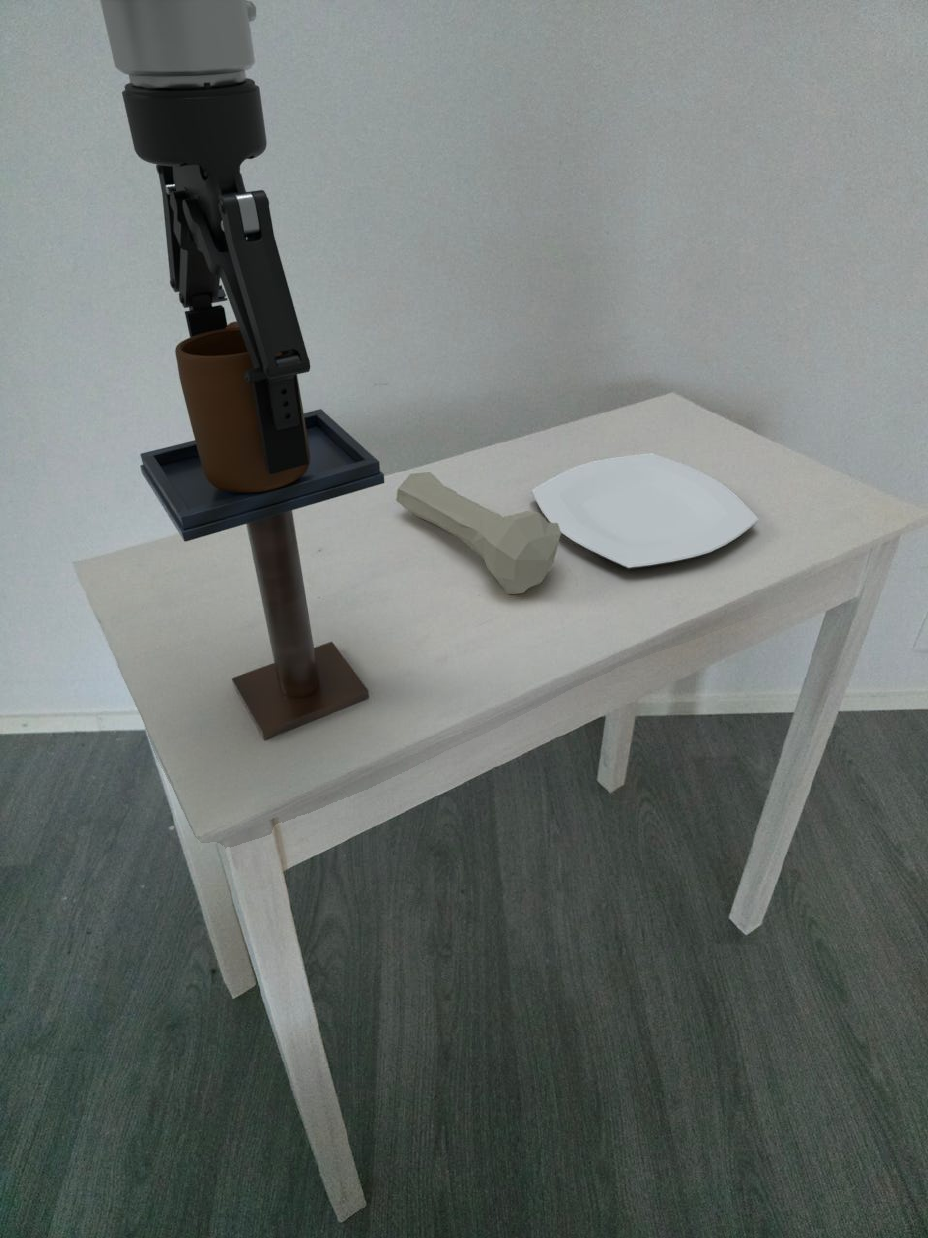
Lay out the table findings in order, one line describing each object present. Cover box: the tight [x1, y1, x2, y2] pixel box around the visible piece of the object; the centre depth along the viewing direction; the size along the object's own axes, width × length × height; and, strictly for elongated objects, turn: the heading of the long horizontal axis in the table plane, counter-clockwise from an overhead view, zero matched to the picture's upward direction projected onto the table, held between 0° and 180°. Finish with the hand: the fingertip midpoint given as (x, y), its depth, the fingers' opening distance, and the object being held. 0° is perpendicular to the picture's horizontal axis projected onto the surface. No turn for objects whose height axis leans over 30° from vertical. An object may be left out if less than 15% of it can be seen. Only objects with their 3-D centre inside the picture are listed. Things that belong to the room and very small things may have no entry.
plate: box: [530, 452, 760, 570], centre depth 98 cm, size 23×23×2 cm
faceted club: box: [396, 471, 562, 595], centre depth 92 cm, size 9×8×25 cm
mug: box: [174, 321, 310, 493], centre depth 59 cm, size 12×8×9 cm, turn 12°
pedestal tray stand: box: [140, 408, 385, 741], centre depth 69 cm, size 15×11×24 cm
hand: (251, 428), depth 60 cm, fingers open, 13 cm apart
